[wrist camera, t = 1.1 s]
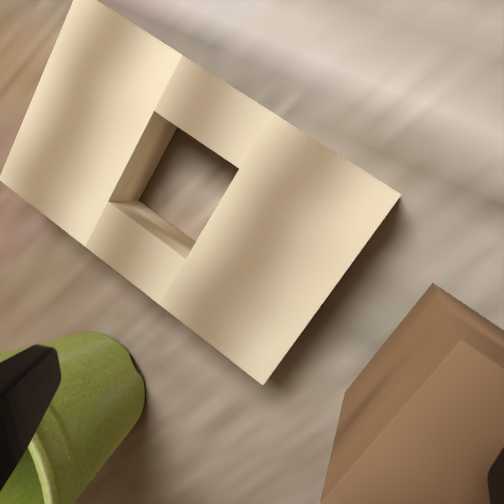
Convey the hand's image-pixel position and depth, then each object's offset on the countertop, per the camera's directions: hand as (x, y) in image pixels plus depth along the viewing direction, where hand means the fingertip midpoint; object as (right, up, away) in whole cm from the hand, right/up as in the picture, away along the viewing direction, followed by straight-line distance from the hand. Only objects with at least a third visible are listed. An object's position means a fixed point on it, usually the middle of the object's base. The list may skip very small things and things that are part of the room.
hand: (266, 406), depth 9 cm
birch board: (-3, +6, +12) cm, 14 cm away
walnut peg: (+8, -1, +10) cm, 13 cm away
